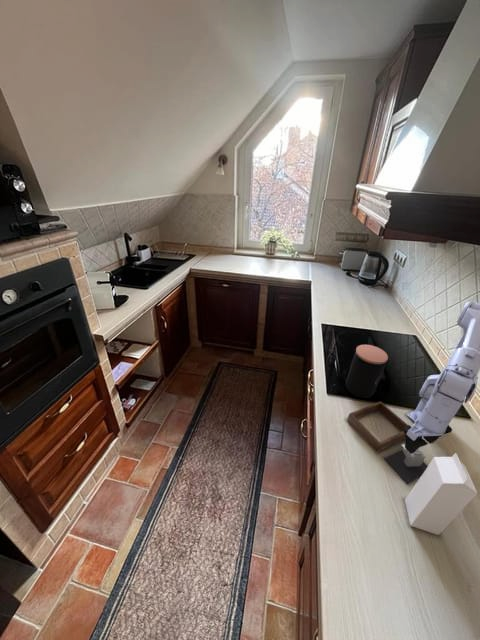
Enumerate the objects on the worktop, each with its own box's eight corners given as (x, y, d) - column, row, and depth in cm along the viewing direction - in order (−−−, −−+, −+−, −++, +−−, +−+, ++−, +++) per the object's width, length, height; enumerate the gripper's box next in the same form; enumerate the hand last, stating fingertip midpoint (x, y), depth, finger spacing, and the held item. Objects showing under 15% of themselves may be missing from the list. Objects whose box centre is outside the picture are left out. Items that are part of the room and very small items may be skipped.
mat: (407, 447, 79) (407, 446, 79) (431, 470, 73) (431, 469, 73) (384, 459, 76) (384, 458, 76) (407, 484, 70) (407, 483, 69)
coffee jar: (375, 402, 95) (390, 365, 86) (345, 395, 98) (356, 358, 89) (372, 383, 104) (385, 347, 95) (344, 377, 106) (355, 342, 97)
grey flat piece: (417, 460, 75) (426, 442, 71) (420, 466, 74) (430, 448, 70) (393, 461, 75) (401, 443, 71) (397, 466, 73) (405, 448, 70)
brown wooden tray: (377, 407, 93) (380, 401, 91) (409, 436, 83) (413, 429, 81) (346, 420, 88) (349, 413, 86) (376, 452, 78) (380, 445, 76)
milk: (410, 526, 61) (449, 474, 50) (404, 499, 66) (439, 447, 55) (439, 535, 60) (486, 485, 49) (431, 508, 65) (472, 456, 54)
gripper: (440, 392, 69) (421, 425, 76) (404, 408, 64) (387, 442, 71) (469, 412, 64) (446, 445, 71) (431, 431, 59) (410, 465, 66)
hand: (418, 445), depth 70 cm, fingers open, 7 cm apart
